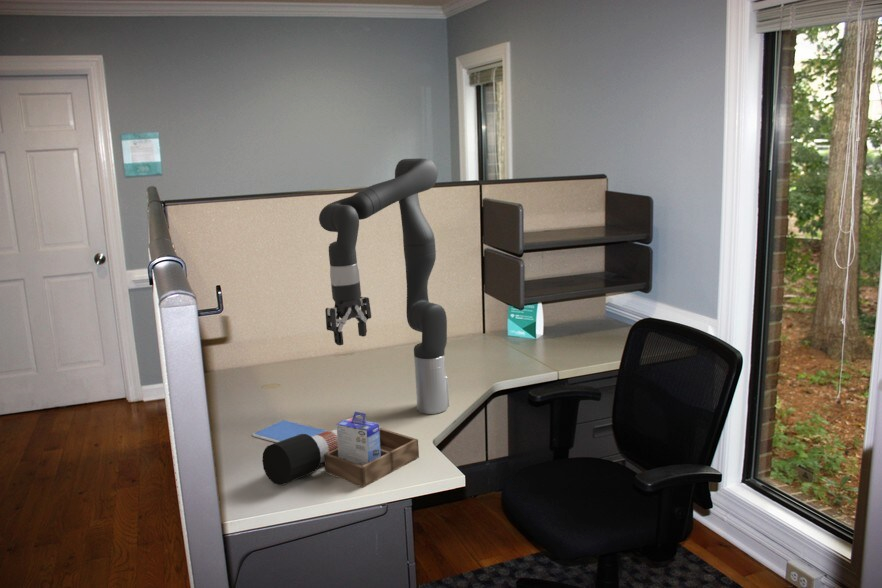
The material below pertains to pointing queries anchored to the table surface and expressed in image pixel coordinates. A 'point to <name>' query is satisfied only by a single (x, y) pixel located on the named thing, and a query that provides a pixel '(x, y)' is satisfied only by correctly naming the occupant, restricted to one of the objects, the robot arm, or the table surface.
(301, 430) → the blue flat pad
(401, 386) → the table surface
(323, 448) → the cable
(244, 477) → the table surface
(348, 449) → the ink cartridge box
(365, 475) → the slot caddy
